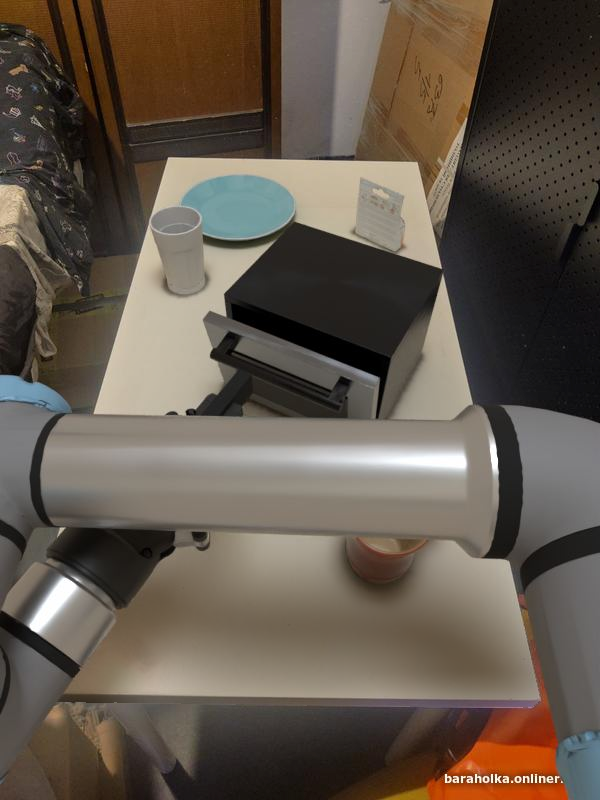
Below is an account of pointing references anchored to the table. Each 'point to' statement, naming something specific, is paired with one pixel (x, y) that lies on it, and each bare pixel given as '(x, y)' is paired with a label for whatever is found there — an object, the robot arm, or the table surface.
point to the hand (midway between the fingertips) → (246, 381)
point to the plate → (240, 206)
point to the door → (291, 373)
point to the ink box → (380, 216)
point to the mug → (381, 557)
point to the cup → (180, 247)
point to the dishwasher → (341, 303)
